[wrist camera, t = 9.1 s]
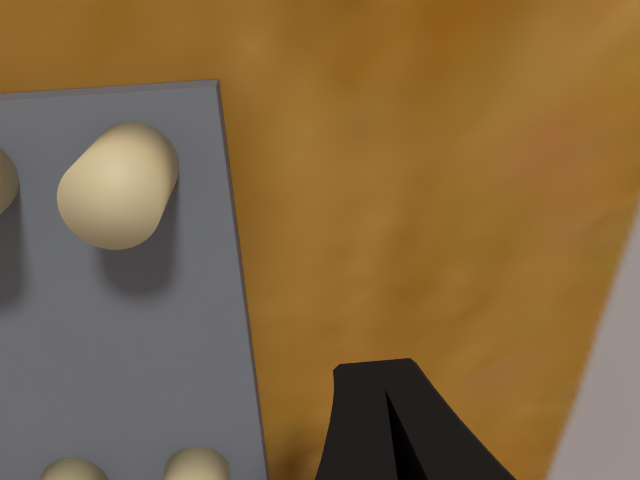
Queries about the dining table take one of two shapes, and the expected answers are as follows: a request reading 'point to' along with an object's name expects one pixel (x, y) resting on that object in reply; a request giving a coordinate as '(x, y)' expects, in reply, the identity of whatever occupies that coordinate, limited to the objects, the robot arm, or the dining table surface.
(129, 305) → the board
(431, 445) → the robot arm
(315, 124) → the dining table surface
